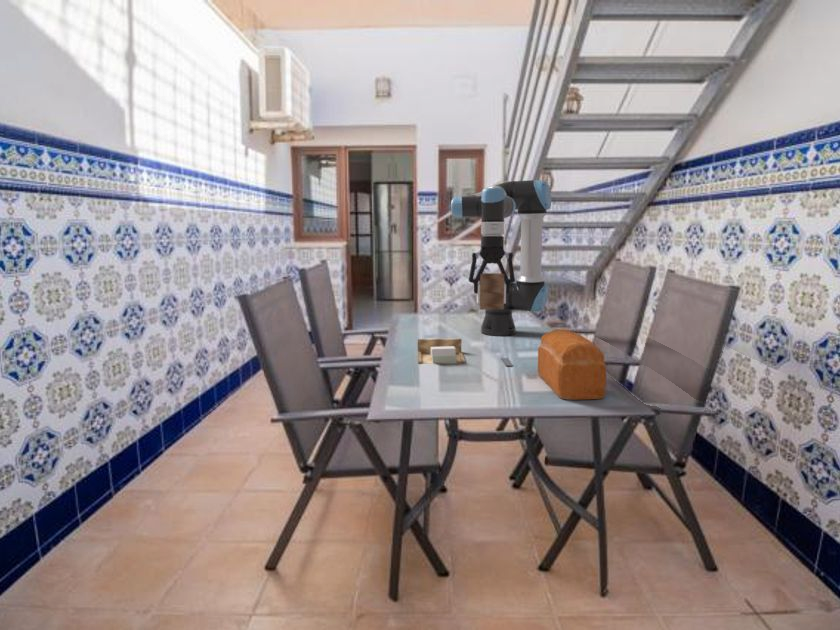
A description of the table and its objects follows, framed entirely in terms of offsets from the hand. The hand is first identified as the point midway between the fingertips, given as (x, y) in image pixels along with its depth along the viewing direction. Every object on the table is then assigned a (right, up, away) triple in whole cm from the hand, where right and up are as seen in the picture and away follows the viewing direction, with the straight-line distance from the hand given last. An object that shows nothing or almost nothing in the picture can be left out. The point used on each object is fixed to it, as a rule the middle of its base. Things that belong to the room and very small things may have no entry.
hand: (491, 302), depth 182 cm
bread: (+20, -26, -23) cm, 40 cm away
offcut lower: (-16, -20, +1) cm, 26 cm away
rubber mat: (0, -21, +4) cm, 21 cm away
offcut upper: (-16, -18, +1) cm, 24 cm away
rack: (-17, -20, +7) cm, 27 cm away
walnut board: (0, -2, 0) cm, 2 cm away
